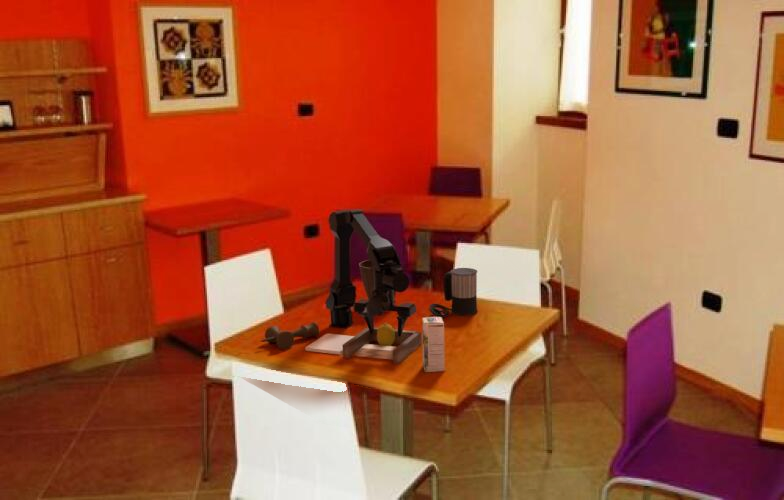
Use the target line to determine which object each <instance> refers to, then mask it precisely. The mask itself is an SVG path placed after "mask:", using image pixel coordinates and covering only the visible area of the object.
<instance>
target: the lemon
mask: <svg viewBox="0 0 784 500" xmlns="http://www.w3.org/2000/svg"><path fill="white" fill-rule="evenodd" d="M377 328H378V331H377V340H378V341H377V343H378V345H383V346H392V345H393V344H394V343H393V342H394V340H395V332H394V329H395V328H393V326H392V325H391V324H387V322H384V323H383V324H381V325H380V326H379V327H377Z"/></svg>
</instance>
